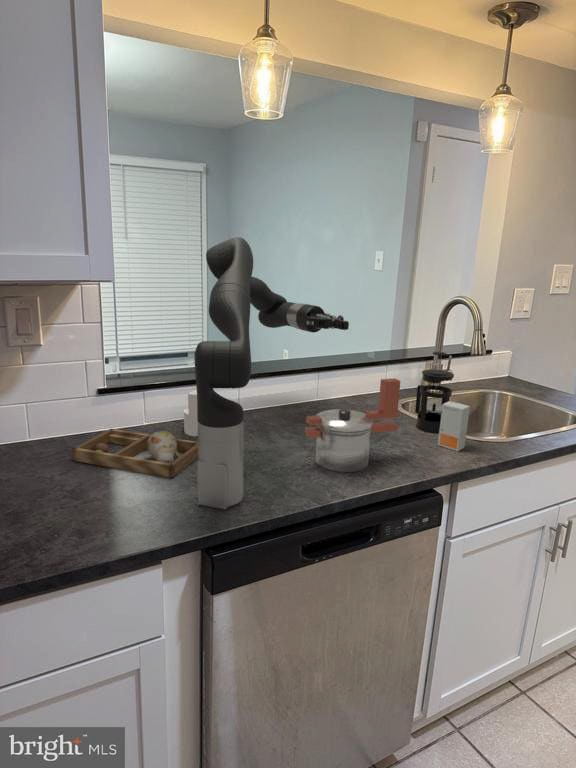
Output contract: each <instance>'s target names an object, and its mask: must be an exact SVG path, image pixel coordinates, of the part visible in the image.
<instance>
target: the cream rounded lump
mask: <svg viewBox="0 0 576 768" xmlns="http://www.w3.org/2000/svg"><path fill="white" fill-rule="evenodd" d="M150 435H151V436H150V437H149V438H148V441H147V448H146V449H147V450H146V451H147V452H148V454H149V455H150V456H151V458H153V459H154V461H158V462H164V463H170V464H171V463H172V462H174V461H175V460H176V459H177V458H179V457H180V456H181V455H180V453H179V452H178V451H177V450H176V449H177V441H176V439H177V438H176V437H175V435H174V434H172V433H171V432H170V431H166V430H160V431H155V432H154V433H152V434H150ZM175 438H176V439H175ZM174 456H175V457H176V459H175V457H174Z"/></svg>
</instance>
